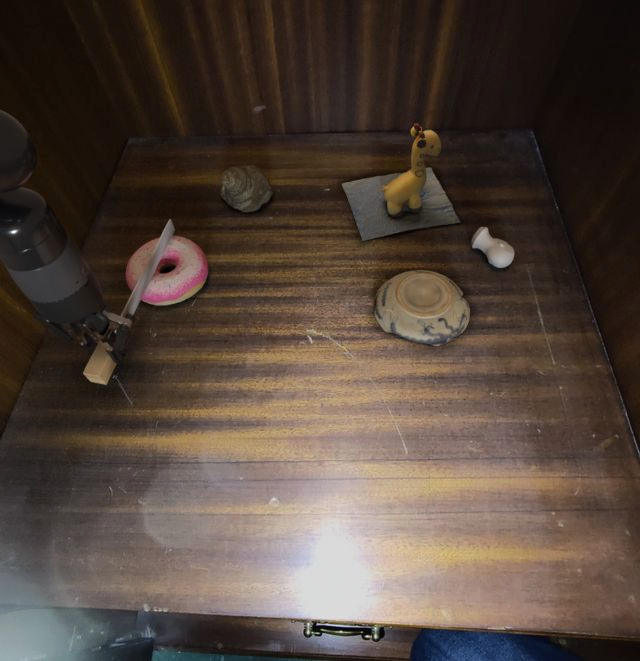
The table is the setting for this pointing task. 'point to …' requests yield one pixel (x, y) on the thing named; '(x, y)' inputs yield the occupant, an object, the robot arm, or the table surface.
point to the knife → (127, 311)
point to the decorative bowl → (422, 307)
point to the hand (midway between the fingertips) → (111, 356)
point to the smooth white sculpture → (493, 248)
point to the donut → (176, 282)
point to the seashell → (245, 187)
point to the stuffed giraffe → (402, 195)
